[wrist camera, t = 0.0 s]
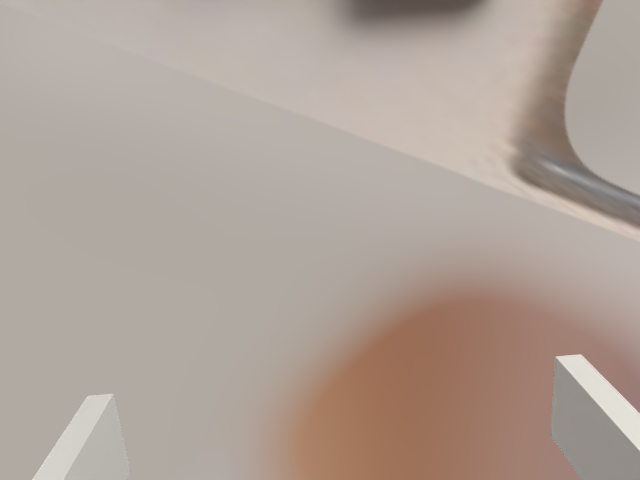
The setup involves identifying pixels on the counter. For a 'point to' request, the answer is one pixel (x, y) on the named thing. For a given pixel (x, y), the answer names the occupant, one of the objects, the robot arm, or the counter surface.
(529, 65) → the counter surface
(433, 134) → the counter surface
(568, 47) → the counter surface
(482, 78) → the counter surface
